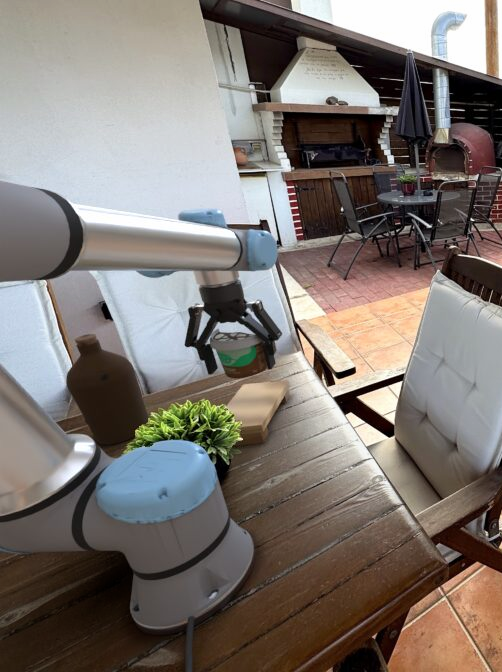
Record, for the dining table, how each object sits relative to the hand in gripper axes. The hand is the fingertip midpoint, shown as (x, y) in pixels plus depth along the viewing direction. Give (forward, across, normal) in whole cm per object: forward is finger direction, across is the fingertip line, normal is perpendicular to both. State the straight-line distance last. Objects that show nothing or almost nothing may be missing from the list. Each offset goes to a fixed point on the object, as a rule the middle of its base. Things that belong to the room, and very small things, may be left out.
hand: (243, 368), depth 93 cm
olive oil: (+15, +29, -1) cm, 33 cm away
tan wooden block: (+14, 0, 0) cm, 14 cm away
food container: (+1, +1, 0) cm, 2 cm away
